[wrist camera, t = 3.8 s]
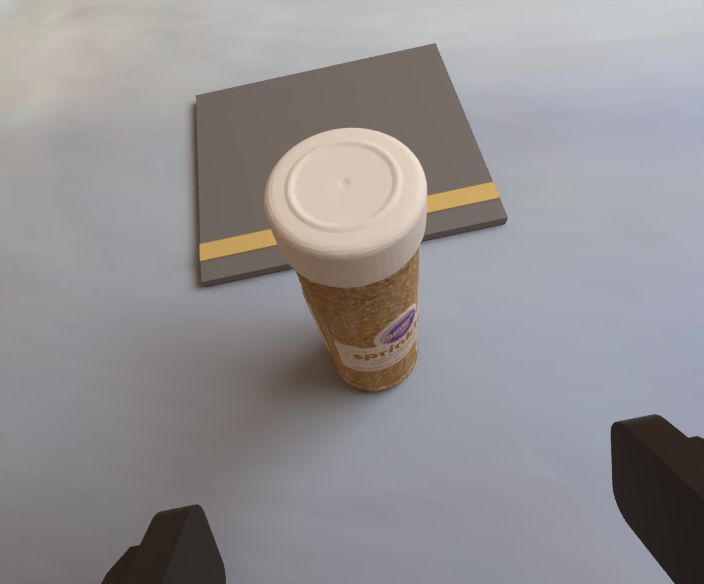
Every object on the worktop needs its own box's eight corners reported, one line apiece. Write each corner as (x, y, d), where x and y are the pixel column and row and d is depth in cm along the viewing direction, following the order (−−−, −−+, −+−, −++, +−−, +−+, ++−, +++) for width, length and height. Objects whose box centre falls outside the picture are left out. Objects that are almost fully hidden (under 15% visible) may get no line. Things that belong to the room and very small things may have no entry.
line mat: (205, 286, 27) (200, 281, 27) (199, 102, 35) (195, 94, 34) (505, 223, 27) (507, 216, 26) (434, 50, 34) (435, 42, 34)
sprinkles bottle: (388, 410, 23) (367, 285, 11) (315, 363, 24) (225, 208, 12) (434, 336, 24) (459, 154, 12) (362, 296, 26) (323, 100, 14)
